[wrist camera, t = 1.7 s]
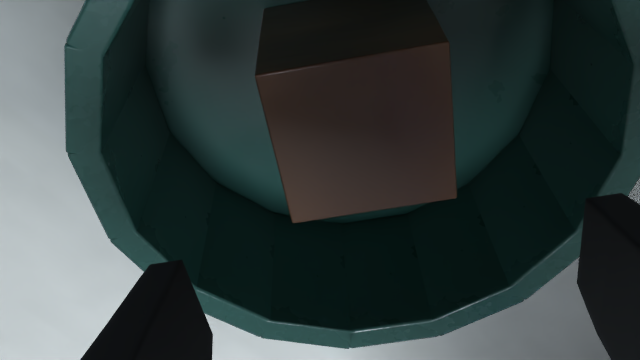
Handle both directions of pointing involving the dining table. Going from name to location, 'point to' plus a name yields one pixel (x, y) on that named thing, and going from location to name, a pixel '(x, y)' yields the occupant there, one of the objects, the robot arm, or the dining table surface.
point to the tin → (363, 228)
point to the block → (357, 105)
